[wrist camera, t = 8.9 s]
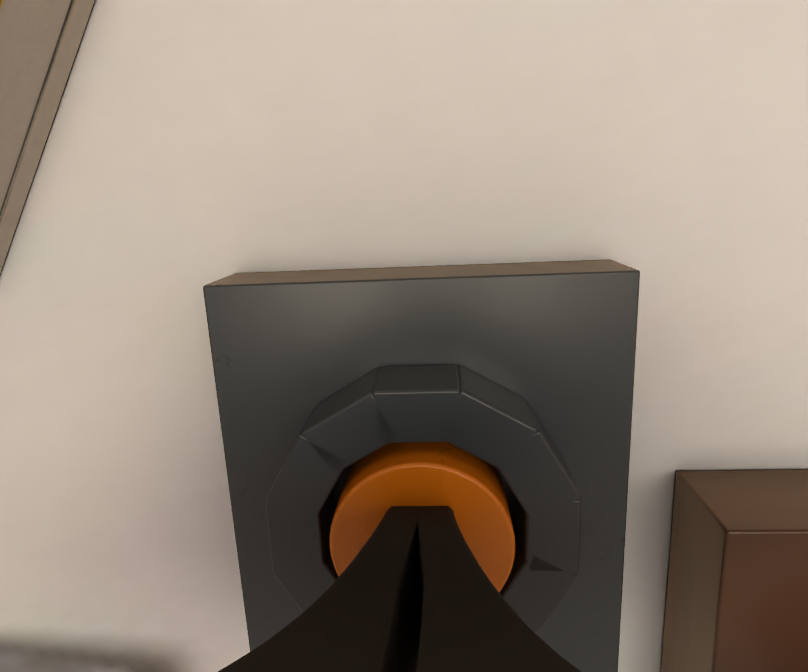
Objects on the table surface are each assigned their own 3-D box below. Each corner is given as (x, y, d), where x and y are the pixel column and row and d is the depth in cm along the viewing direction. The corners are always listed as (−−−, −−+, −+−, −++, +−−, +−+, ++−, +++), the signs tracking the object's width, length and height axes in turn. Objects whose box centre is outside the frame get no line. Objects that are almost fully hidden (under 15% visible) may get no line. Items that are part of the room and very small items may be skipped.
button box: (595, 620, 17) (640, 742, 14) (274, 618, 18) (229, 733, 14) (611, 259, 15) (673, 283, 11) (234, 272, 15) (166, 299, 12)
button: (506, 577, 14) (516, 629, 13) (347, 577, 15) (335, 628, 13) (506, 427, 13) (516, 462, 12) (336, 430, 14) (321, 464, 12)
